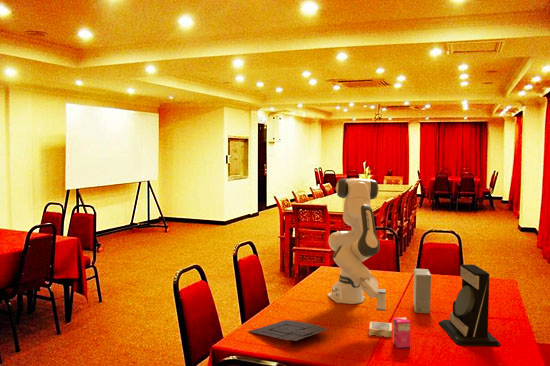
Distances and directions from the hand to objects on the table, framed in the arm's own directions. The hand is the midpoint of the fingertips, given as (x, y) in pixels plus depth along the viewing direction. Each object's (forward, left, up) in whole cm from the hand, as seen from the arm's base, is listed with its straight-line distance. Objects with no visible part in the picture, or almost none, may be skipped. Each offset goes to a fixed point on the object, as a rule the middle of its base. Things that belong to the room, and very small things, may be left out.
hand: (382, 298), depth 228 cm
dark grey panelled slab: (-16, -39, -16) cm, 46 cm away
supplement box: (+17, -2, -16) cm, 23 cm away
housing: (0, 0, -5) cm, 5 cm away
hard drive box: (-19, +41, -16) cm, 48 cm away
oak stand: (0, 0, -16) cm, 16 cm away
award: (+18, +35, -16) cm, 42 cm away
